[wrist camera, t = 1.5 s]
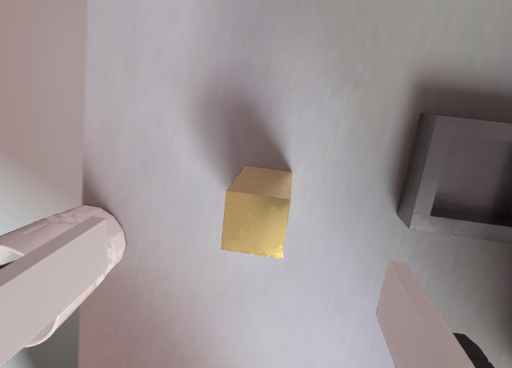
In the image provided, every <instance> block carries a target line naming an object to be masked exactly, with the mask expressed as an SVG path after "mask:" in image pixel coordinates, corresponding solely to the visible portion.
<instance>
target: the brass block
mask: <svg viewBox="0 0 512 368" xmlns="http://www.w3.org/2000/svg"><path fill="white" fill-rule="evenodd" d="M291 182H292V172H290V171H282V170H274V169H267V168H259V167H252V166H245V167H244V168H243V170H242V171H241V172H240V173H239V175H238V176H237V177H236V179H235V180H234V181H233V183H232V184H231V185H230V186H229V188H228V189H227V190H226V199H225V210H224V222H223V233H222V245H221V249H222V250H229V251H235V252H241V253H248V254H254V255H261V256H267V257H274V258H280V259H282V256H283V249H284V242H285V235H286V228H287V221H288V214H289V207H290V200H291Z"/></svg>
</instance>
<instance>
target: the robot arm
mask: <svg viewBox="0 0 512 368" xmlns="http://www.w3.org/2000/svg"><path fill="white" fill-rule="evenodd" d="M107 270H108V247H107V218H102V217H96V216H91V217H89V218H87V219H86V220H84V221H82V222H80V223H79V224H77V225H75V226H74V227H72V228H70V229H69V230H67V231H65V232H63V233H62V234H60V235H58V236H57V237H55V238H53V239H52V240H50V241H48V242H46V243H45V244H43V245H41V246H40V247H38V248H36V249H34V250H33V251H31V252H29V253H28V254H26V255H24V256H23V257H21V258H19V259H17V260H16V261H12V262H9V263H6V264H3V265H0V368H2V367H3V366H4V365H5V364H6V363H7V362H8V361H9V360H10V359H11V358H12V357H14V356H15V355H16V354H17V353H18V352H19V351H20V350H21V349H22V348H23V347H24V346H25V345H27V344H28V343H29V342H30V341H31V340H32V339H33V338H34V337H35V336H36V335H37V334H38V333H40V332H41V331H42V330H43V329H44V328H45V327H46V326H47V325H48V324H49V323H50V322H51V321H53V320H54V319H55V318H56V317H57V316H58V315H59V314H60V313H61V312H62V311H63V310H64V309H66V308H67V307H68V306H69V305H70V304H71V303H72V302H73V301H74V300H75V299H76V298H77V297H79V296H80V295H81V294H82V293H83V292H84V291H85V290H86V289H87V288H88V287H89V286H91V285H92V284H93V283H94V282H95V281H96V280H97V279H98V278H99V277H100V276H101V275H102V274H104V273H105V272H106V271H107ZM376 316H377V318H378V321H379V324H380V326H381V329H382V332H383V335H384V337H385V340H386V343H387V346H388V348H389V351H390V354H391V357H392V359H393V362H394V365H395V367H396V368H494V367H493V365H492V364H491V363H490V362H488V359H487V357H486V356H485V354H484V353H483V352H482V350H481V349H480V348H479V346H477V345H476V344H475V343H474V342H473V341H472V340H470V339H469V338H468V337H467V336H466V335H464V334H459V333H452V332H451V330H450V329H449V327H448V326H447V324H446V323H445V321H444V319H443V318H442V316H441V315H440V313H439V312H438V310H437V309H436V307H435V306H434V304H433V303H432V301H431V300H430V298H429V297H428V295H427V294H426V292H425V291H424V289H423V288H422V286H421V285H420V283H419V282H418V280H417V279H416V277H415V276H414V274H413V272H412V271H411V269H410V268H409V266H408V265H407V263H401V262H394V261H388V265H387V270H386V274H385V278H384V282H383V286H382V290H381V294H380V298H379V302H378V307H377V311H376Z"/></svg>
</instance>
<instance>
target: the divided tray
mask: <svg viewBox="0 0 512 368" xmlns="http://www.w3.org/2000/svg"><path fill="white" fill-rule="evenodd" d="M397 215H398V217H399V218H400V219H401V220H402V221H403V222H404V223H405V225H406V226H407V227H408V228H409V229H415V230H422V231H429V232H436V233H443V234H450V235H457V236H464V237H471V238H478V239H485V240H492V241H499V242H506V243H512V123H503V122H494V121H485V120H476V119H467V118H458V117H449V116H440V115H431V114H422V113H421V117H420V121H419V125H418V129H417V134H416V138H415V142H414V146H413V151H412V155H411V159H410V163H409V168H408V172H407V176H406V180H405V184H404V189H403V193H402V197H401V201H400V206H399V210H398V214H397Z"/></svg>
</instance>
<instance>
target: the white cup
mask: <svg viewBox="0 0 512 368" xmlns="http://www.w3.org/2000/svg"><path fill="white" fill-rule="evenodd" d="M91 216H96V217H102V218H107V247H108V270H107V271H106V272H105V273H104V274H102V275H101V276H100V277H99V278H98V279H97V280H96V281H95V282H94V283H93V284H92V285H91V286H89V287H88V288H87V289H86V290H85V291H84V292H83V293H82V294H81V295H80V296H79V297H77V298H76V299H75V300H74V301H73V302H72V303H71V304H70V305H69V306H68V307H67V308H66V309H64V310H63V311H62V312H61V313H60V314H59V315H58V316H57V317H56V318H55V319H54V320H53V321H51V322H50V323H49V324H48V325H47V326H46V327H45V328H44V329H43V330H42V331H41V332H40V333H38V334H37V335H36V336H35V337H34V338H33V339H32V340H31V341H30V342H29V343H28V344H27V345H25V346H24V347H23V348H25V347H31V346H35V345H38V344H40V343H42V342H44V341H45V340H46V339H48V338H49V337H50V336H51V335H52V334H53V333H54V331H55V330H56V329H57V328H58V327H59V326H60V325H61V324H62V323H63V322H64V321H65V320H66V319H67V318H68V317H69V316H70V315H71V314H72V313H73V312H74V311H75V310H76V309H77V308H78V306H79V305H80V304H81V303H82V302H83V301H84V300H85V299H86V298H87V297H88V296H89V295H90V294H91V293H92V292H93V291H94V290H95V289H96V287H97V286H98V285H99V284H100V283H101V282H102V280H104V279H105V277H106V275H107V274H108V272H109V271H110V270H111V269H112V268H113V267H114V266H115V265H116V264H117V263H118V262H119V261H120V260H121V259H122V257H123V254H124V250H125V246H126V242H125V237H124V232H123V229H122V227H121V226H120V225H119V223H118V222H117V220H116V219H115V217H114V216H112V215H111V214H109V213H108V212H106V211H105V210H103V209H102V208H99V207H93V206H87V205H83V206H80V207H77V208H74V209H70V210H68V211H66V212H63V213H61V214H55V215H52V216H50V217H48V218H45V219H41V220H39V221H36V222H34V223H31V224H29V225H26V226H24V227H21V228H19V229H16V230H14V231H11V232H9V233H6V234H4V235H2V236H0V265H3V264H6V263H9V262H12V261H16V260H17V259H19V258H21V257H23V256H24V255H26V254H28V253H29V252H31V251H33V250H34V249H36V248H38V247H40V246H41V245H43V244H45V243H46V242H48V241H50V240H52V239H53V238H55V237H57V236H58V235H60V234H62V233H63V232H65V231H67V230H69V229H70V228H72V227H74V226H75V225H77V224H79V223H80V222H82V221H84V220H86V219H87V218H89V217H91Z"/></svg>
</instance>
